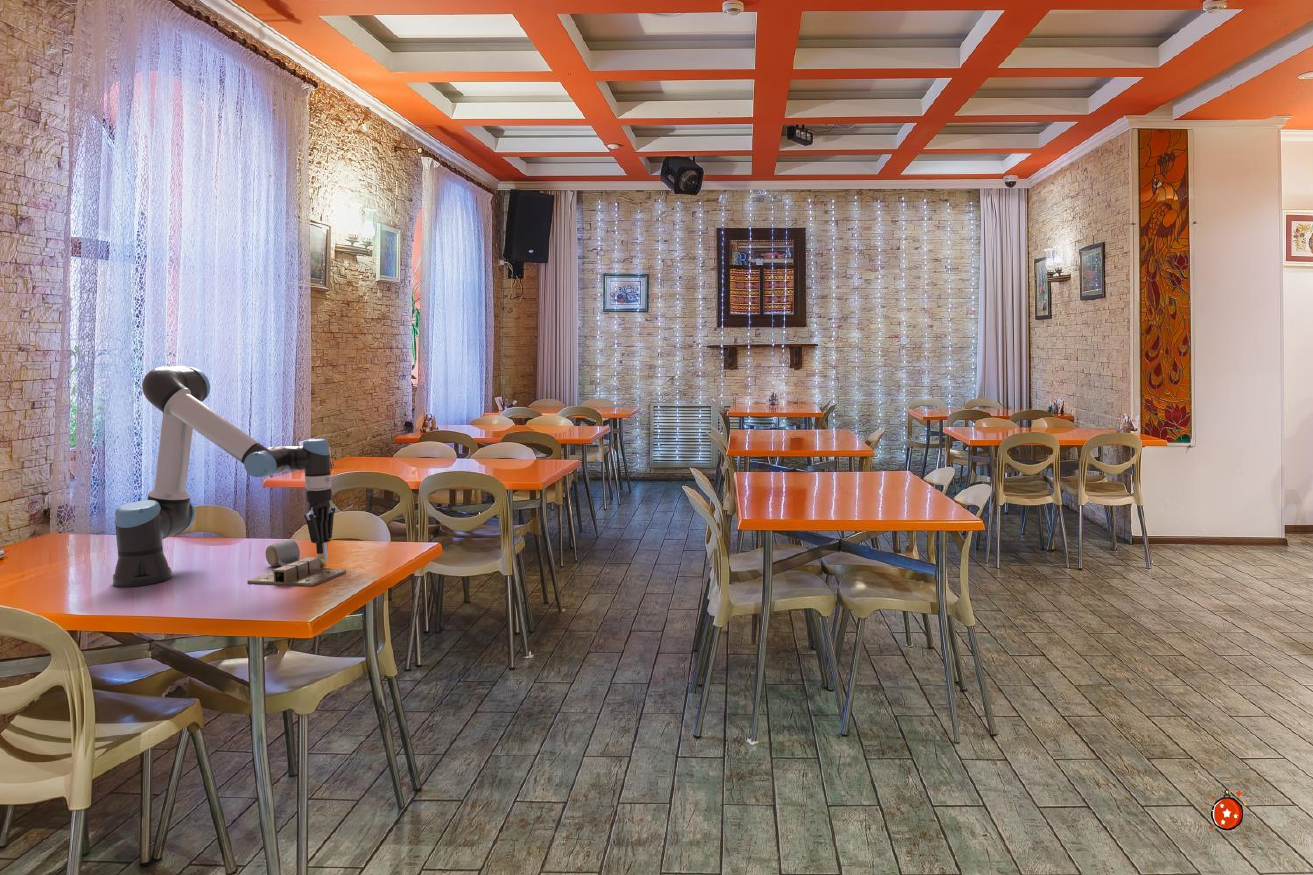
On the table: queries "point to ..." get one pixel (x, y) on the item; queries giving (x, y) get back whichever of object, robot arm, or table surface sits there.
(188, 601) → the table surface
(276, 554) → the ceramic mug
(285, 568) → the hinge
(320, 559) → the pin
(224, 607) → the table surface
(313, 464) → the robot arm
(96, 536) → the table surface
